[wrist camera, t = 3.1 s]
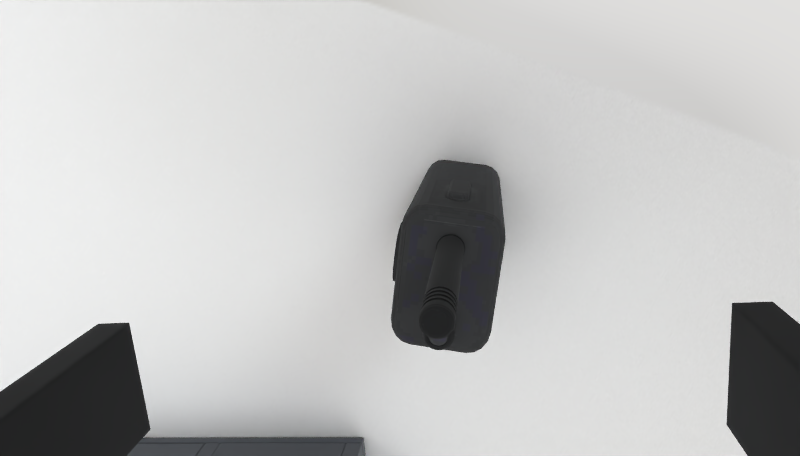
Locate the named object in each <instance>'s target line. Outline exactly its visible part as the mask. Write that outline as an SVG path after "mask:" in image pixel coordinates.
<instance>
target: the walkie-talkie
mask: <svg viewBox="0 0 800 456" xmlns="http://www.w3.org/2000/svg"><path fill="white" fill-rule="evenodd" d="M504 245H505V227H504V217H503V208H502V199H501V189H500V180H499V176H498V174H497V172H496V171H495V170H494V169H493V168H492V167H489V166H487V165H480V164H472V163H464V162H457V161H449V160H440V161H437V162H435V163H433V164H432V166H431V167H430V168H429V170H428V171H427V173H426V175H425V177H424V179H423V181H422V183H421V185H420V187H419V189H418V191H417V193H416V195H415V197H414V199H413V201H412V202H411V204H410V206H409V208H408V210H407V212H406V214H405V216H404V219H403V222H401V225H400V228H399V232H398V236H397V242H396V248H395V256H394V265H393V281H395V287H394V296H393V305H392V314H391V322H392V328H393V330H394V332H395V335H396V336H397V337H398V338H399V339H400V340H401V341H403V342H406V343H408V344H412V345H419V346H425V347H430V348H432V349H435V350H443V349H445V350H451V351H458V352H464V353H469V352H475V351H477V350H479V349H481V348H482V347H483V346H484V345H485V344H486V343H487V341H488V339H489V336H490V333H491V328H492V321H493V315H494V309H495V302H496V296H497V290H498V283H499V277H500V270H501V264H502V258H503V251H504Z"/></svg>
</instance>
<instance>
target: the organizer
mask: <svg viewBox="0 0 800 456" xmlns="http://www.w3.org/2000/svg"><path fill="white" fill-rule="evenodd" d="M127 456H365V447H364V439H363V438H142V439H141V440H140V441H139V443H138V444H137V445H136V446H135V447H134V448H133V449H132V450H131V451H130V453H129V454H128V455H127Z"/></svg>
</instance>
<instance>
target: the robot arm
mask: <svg viewBox="0 0 800 456" xmlns="http://www.w3.org/2000/svg"><path fill="white" fill-rule="evenodd" d="M727 426H728V427H729V429H730V430H731V432H732V433H733V435H734V436H735V438H736V439H737V440H738V442H739V443H740V445H741V446H742V448H743V449H744V451H745V452H746V454H747V455H748V456H800V324H799V323H798V322H796V321H795V320H794V319H793V318H792V317H790V316H789V315H788V314H787V313H786V312H784V311H783V310H782V309H781V308H780V307H778V306H777V305H776V304H775V303H773V302H751V303H732V319H731V341H730V363H729V385H728V408H727ZM149 430H150V425H149V420H148V415H147V410H146V405H145V400H144V395H143V390H142V385H141V380H140V375H139V370H138V365H137V360H136V355H135V350H134V345H133V340H132V335H131V330H130V325H129V323H111V324H98V325H96V326H95V327H93V328H92V329H90V330H89V331H87V332H86V333H85V334H83V335H82V336H80V337H79V338H77V339H76V340H74V341H73V342H72V343H70V344H69V345H67V346H66V347H64V348H63V349H61V350H60V351H58V352H57V353H56V354H54V355H53V356H51V357H50V358H48V359H47V360H45V361H44V362H43V363H41V364H40V365H38V366H37V367H35V368H34V369H32V370H31V371H30V372H28V373H27V374H25V375H24V376H22V377H21V378H19V379H18V380H17V381H15V382H14V383H12V384H11V385H9V386H8V387H6V388H5V389H4V390H2V391H1V392H0V456H127V455H128V454H129V453H130V451H131V450H132V449H133V448H134V447H135V446H136V445H137V444H138V443H139V441H140V440H141V439H142V438H143V437H144V436H145V435H146V434H147V432H148V431H149Z"/></svg>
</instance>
